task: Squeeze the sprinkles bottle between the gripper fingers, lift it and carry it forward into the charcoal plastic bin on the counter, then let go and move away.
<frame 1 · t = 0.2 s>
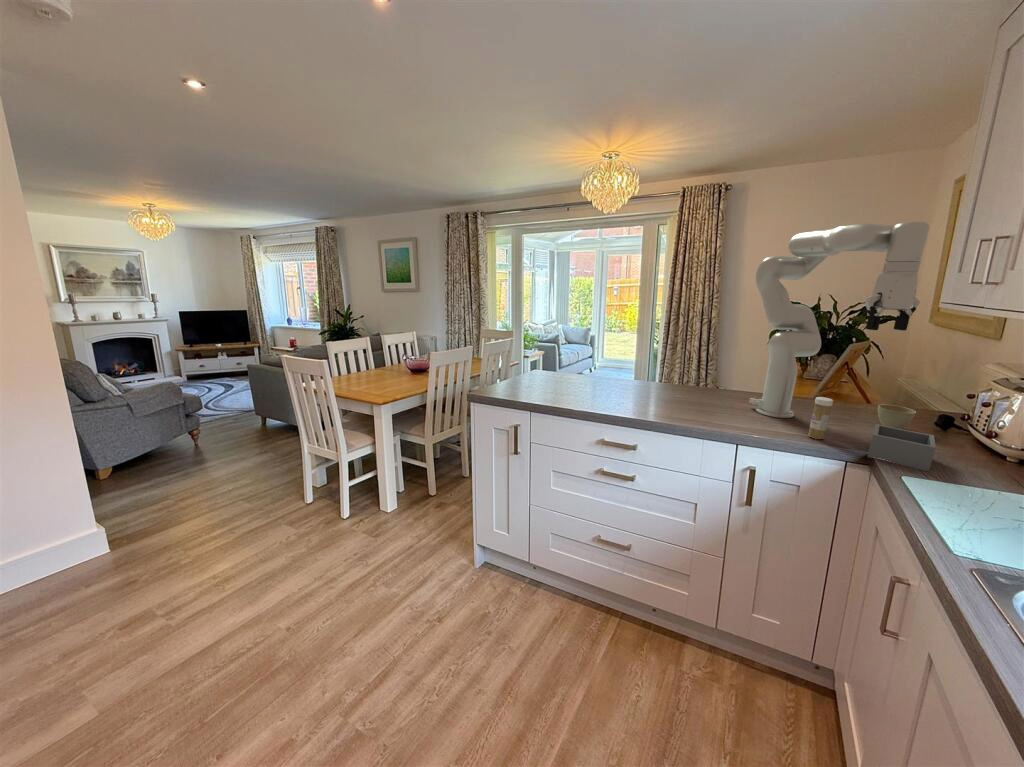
hand: (885, 329, 122), 36 cm above the countertop, tool pointing down, fingers open, 9 cm apart
pale green bowl: (891, 428, 149), on the countertop
bin: (897, 457, 123), on the countertop
sprinkles bottle: (815, 438, 137), on the countertop
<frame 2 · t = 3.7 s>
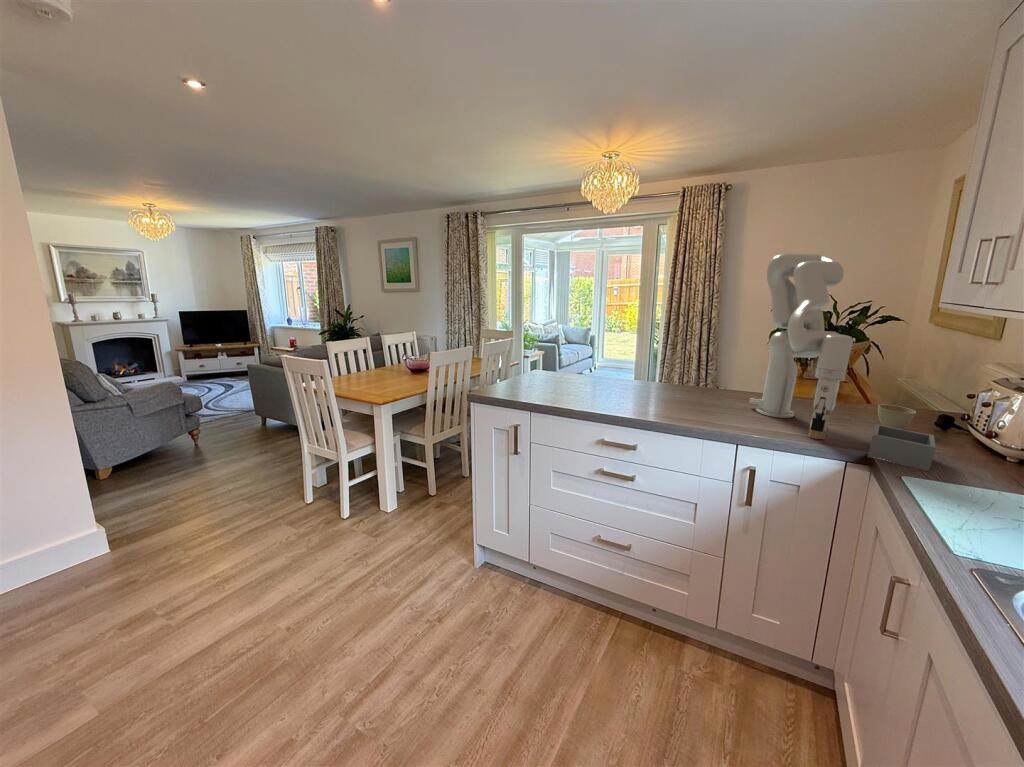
hand: (817, 428, 136), 3 cm above the countertop, tool pointing down, fingers closed on sprinkles bottle, 4 cm apart
sprinkles bottle: (815, 438, 137), on the countertop, touching gripper
everything else where it was.
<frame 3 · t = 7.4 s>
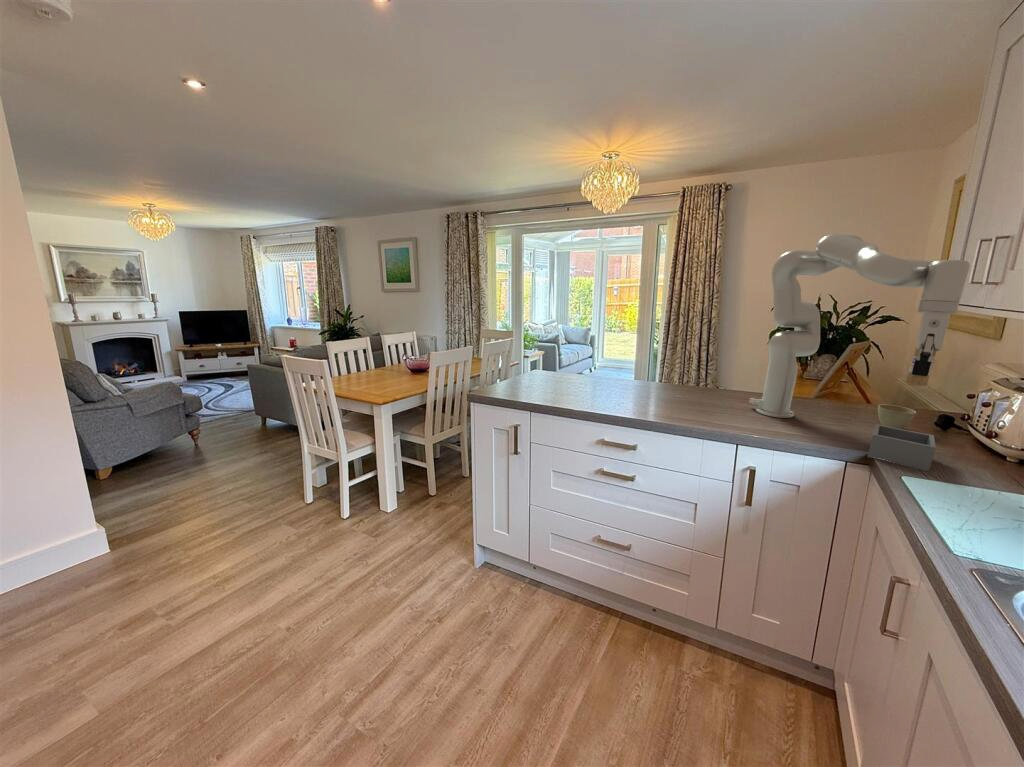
hand: (919, 373, 117), 25 cm above the countertop, tool pointing down, fingers closed on sprinkles bottle, 4 cm apart
sprinkles bottle: (916, 385, 118), point 22 cm above the countertop, touching gripper
everything else where it was.
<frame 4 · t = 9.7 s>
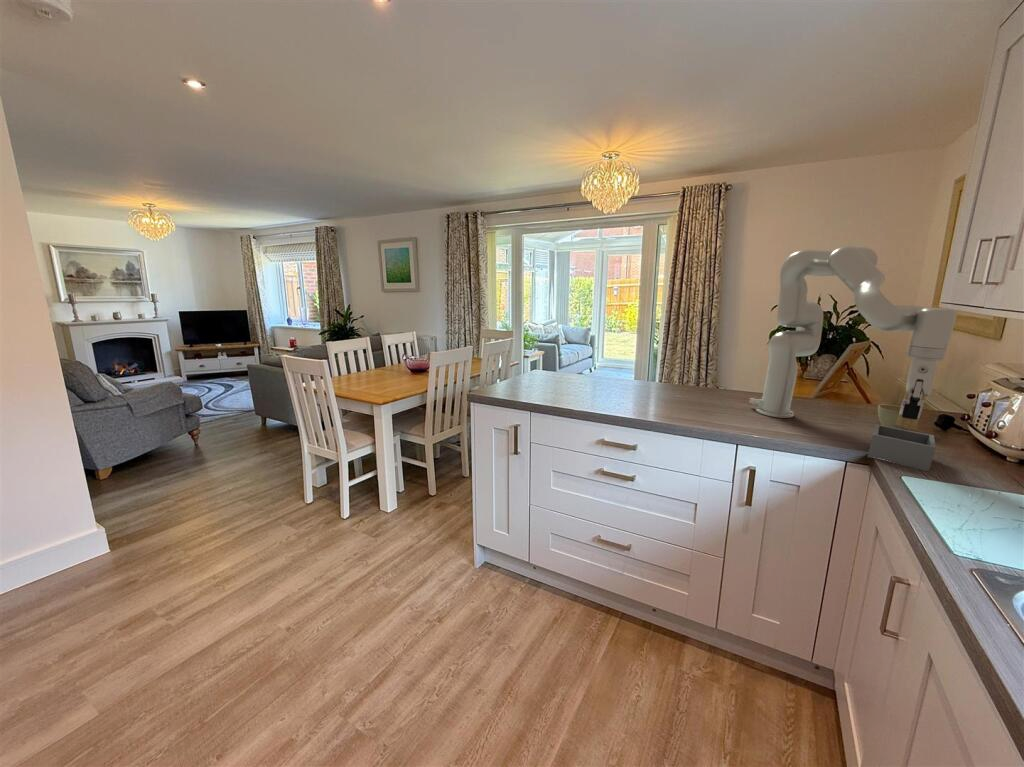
hand: (909, 415, 120), 13 cm above the countertop, tool pointing down, fingers closed on sprinkles bottle, 4 cm apart
sprinkles bottle: (906, 427, 121), point 9 cm above the countertop, touching gripper
everything else where it was.
when the fingers open (6 cm above the countertop, at t = 11.4 s): sprinkles bottle drops 2 cm, resting on bin.
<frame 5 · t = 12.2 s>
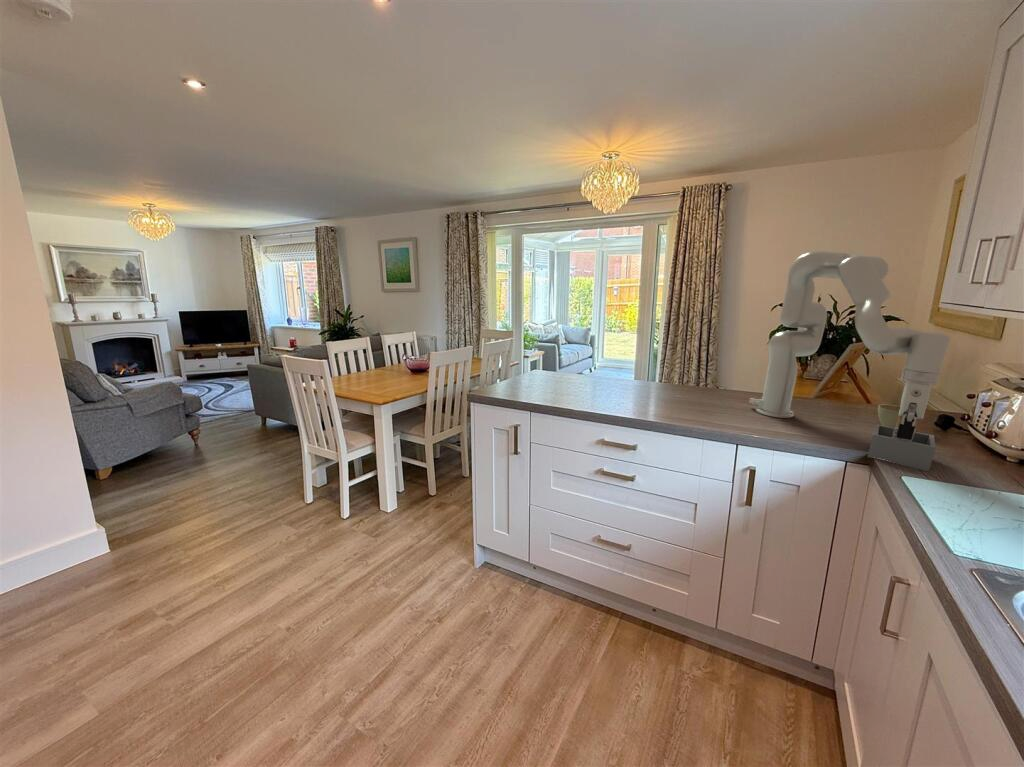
hand: (903, 434, 121), 7 cm above the countertop, tool pointing down, fingers open, 9 cm apart
sprinkles bottle: (897, 454, 123), point 1 cm above the countertop, touching bin
everything else where it was.
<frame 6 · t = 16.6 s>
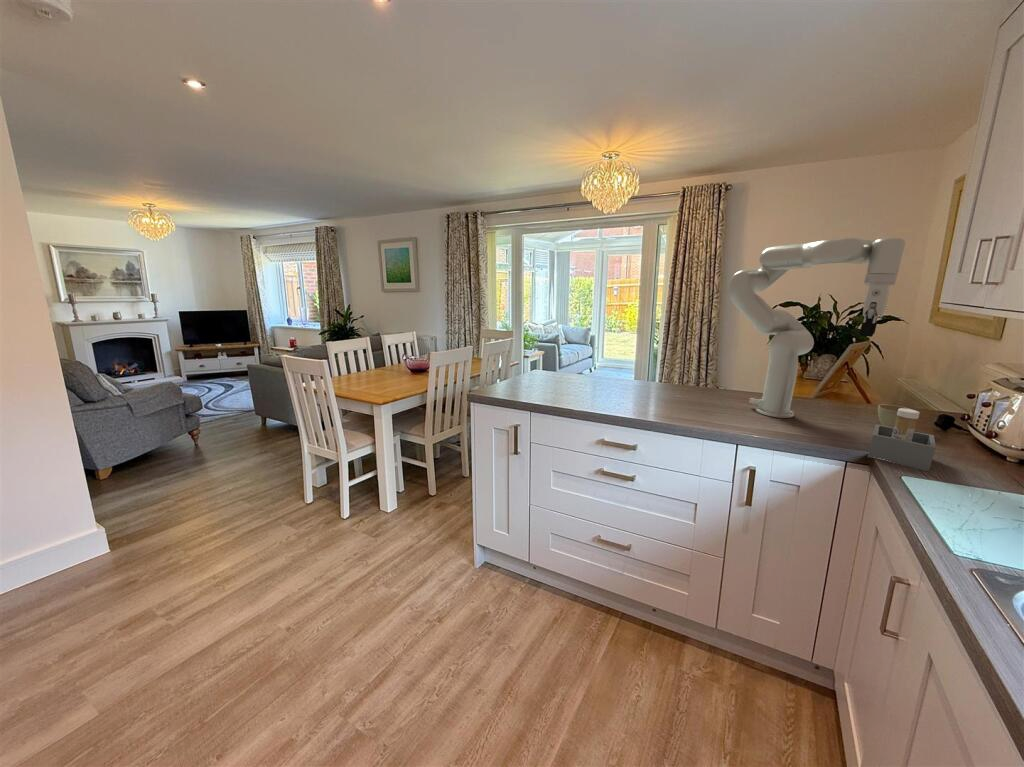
hand: (866, 334, 135), 33 cm above the countertop, tool pointing down, fingers open, 9 cm apart
nothing on the countertop moved.
at the end: sprinkles bottle inside the target area on the bin (0.2 cm from its centre), point 0.9 cm above the bin's base; sprinkles bottle tilted 1°; the gripper is holding nothing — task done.
